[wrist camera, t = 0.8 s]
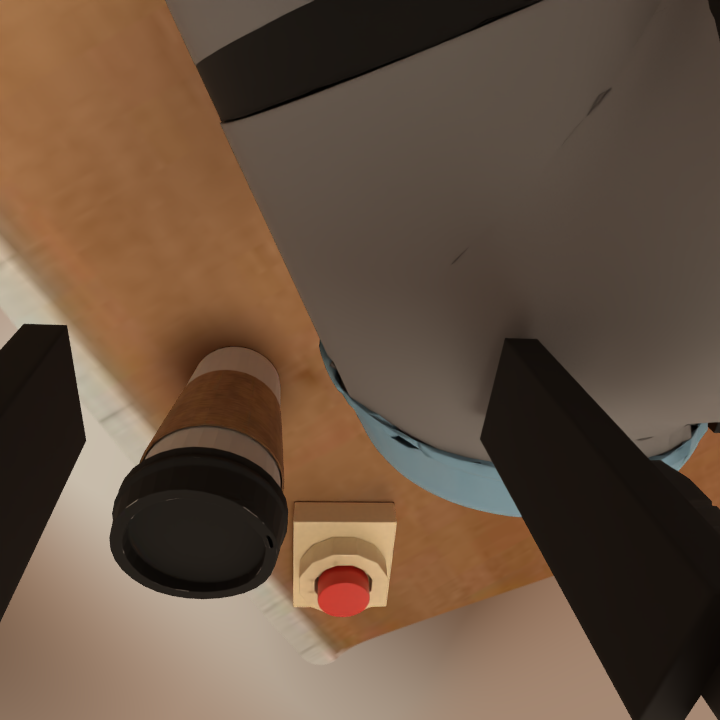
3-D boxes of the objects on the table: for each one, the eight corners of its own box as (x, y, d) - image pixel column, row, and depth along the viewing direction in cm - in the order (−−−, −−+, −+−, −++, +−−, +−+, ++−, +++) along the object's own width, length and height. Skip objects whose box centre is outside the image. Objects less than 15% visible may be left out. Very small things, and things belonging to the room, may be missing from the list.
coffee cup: (309, 421, 41) (303, 598, 27) (197, 441, 41) (137, 625, 28) (282, 319, 36) (259, 470, 23) (157, 341, 37) (65, 503, 24)
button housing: (294, 501, 44) (292, 540, 41) (394, 502, 45) (399, 540, 41) (294, 585, 49) (291, 626, 46) (383, 585, 50) (388, 625, 46)
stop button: (318, 564, 43) (318, 583, 41) (370, 564, 43) (371, 582, 42) (317, 598, 45) (317, 617, 43) (366, 598, 45) (368, 617, 44)
